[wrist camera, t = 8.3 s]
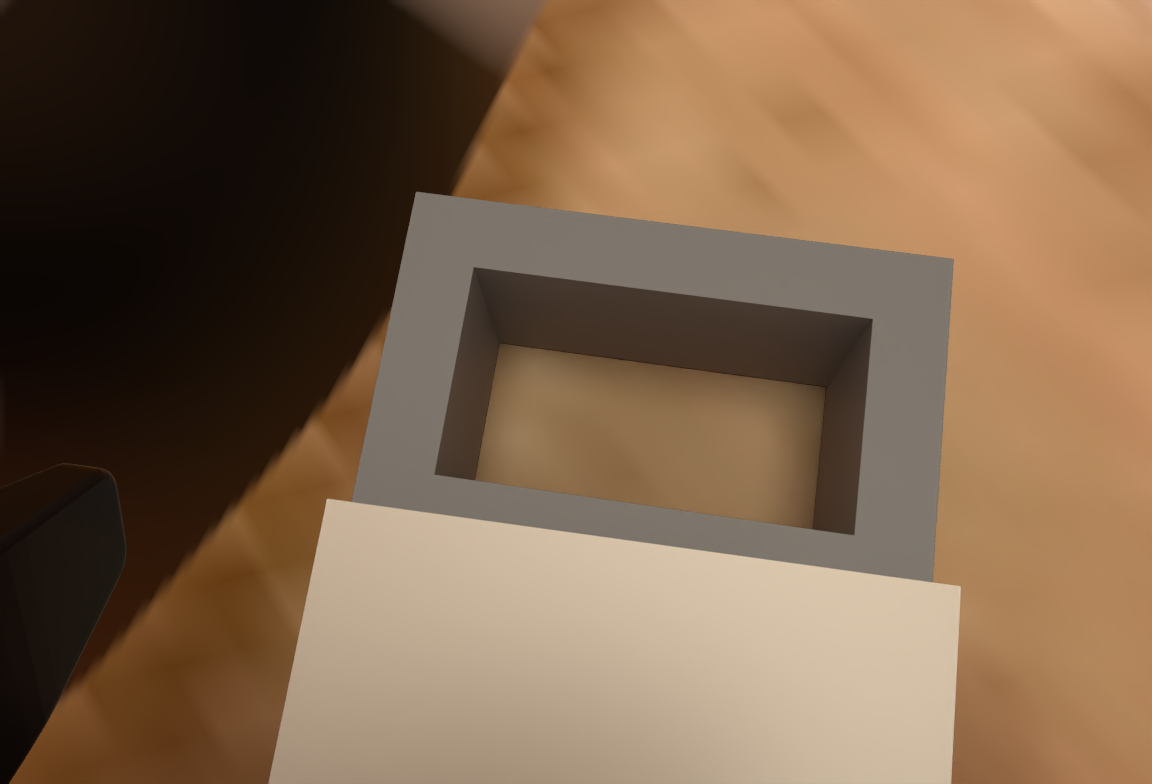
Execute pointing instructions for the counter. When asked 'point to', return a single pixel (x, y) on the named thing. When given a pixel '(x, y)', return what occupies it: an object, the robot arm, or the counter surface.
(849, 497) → the frame
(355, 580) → the block
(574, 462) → the counter surface
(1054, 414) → the counter surface
